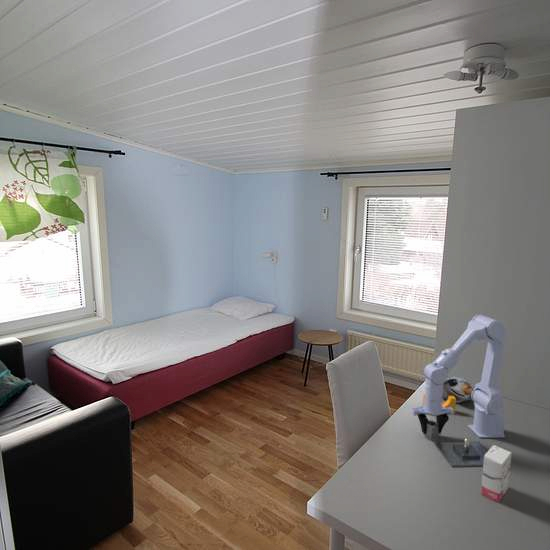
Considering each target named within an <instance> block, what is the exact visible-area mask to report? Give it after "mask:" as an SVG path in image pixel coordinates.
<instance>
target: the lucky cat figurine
mask: <svg viewBox="0 0 550 550" xmlns="http://www.w3.org/2000/svg"><path fill="white" fill-rule="evenodd" d="M473 390H474V388H473V387H472V385H471V383H470V382H469V381H468V380H466V379H465V378H463V377H460V376H453V375H452V376H450V377H449V376H448V378H447V380H446V381H445V382H444V383H443V392H442V400H444V401H445V402H446V401H447V400H448V397H449V396H454V397H455V398H456V403H461V402H465V401H470V400H472V398H471V394H472V391H473Z"/></svg>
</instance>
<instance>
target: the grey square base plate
mask: <svg viewBox="0 0 550 550" xmlns="http://www.w3.org/2000/svg"><path fill="white" fill-rule="evenodd" d="M434 445H435V447H436V448H437V449H438V451H439V452H440V453H441V455H442V457H444V459H445V460H446V462H448V464H449V466H450V467H452V468H454V467H456V468H457V467H458V468H461V467H483V464H484V456H485V454H486V453H487V452H488V451H489V449H487V448H486V447H485V446H484V445H483V444H482V443H481V442H480V441H471V439H470V438H469V437H464V441H459V442H458V441H457V442H454V441H453V442H434Z"/></svg>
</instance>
